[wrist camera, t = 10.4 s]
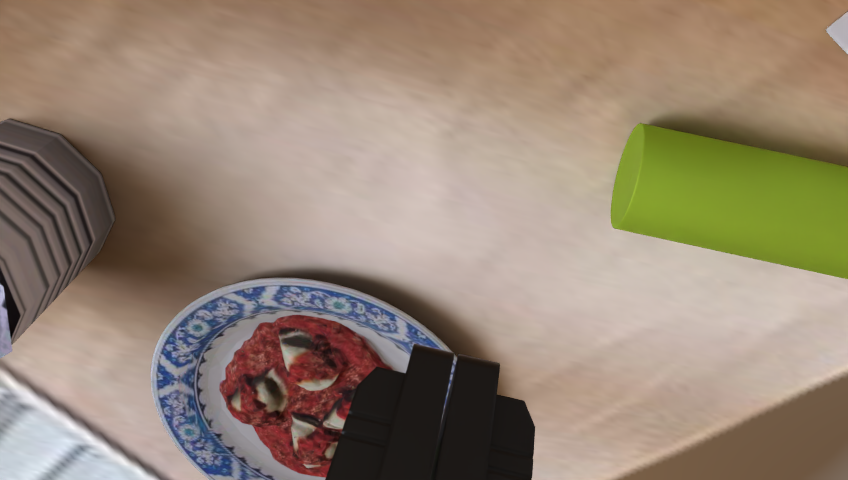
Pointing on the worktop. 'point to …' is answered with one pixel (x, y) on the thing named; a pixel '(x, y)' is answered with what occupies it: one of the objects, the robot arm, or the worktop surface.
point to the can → (44, 222)
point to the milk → (840, 32)
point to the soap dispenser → (733, 199)
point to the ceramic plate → (274, 373)
